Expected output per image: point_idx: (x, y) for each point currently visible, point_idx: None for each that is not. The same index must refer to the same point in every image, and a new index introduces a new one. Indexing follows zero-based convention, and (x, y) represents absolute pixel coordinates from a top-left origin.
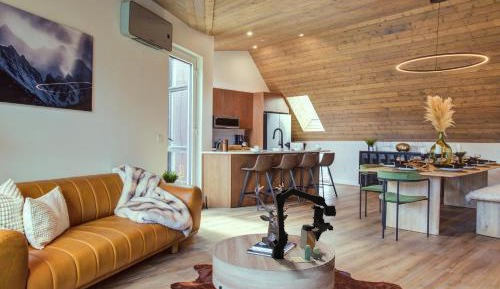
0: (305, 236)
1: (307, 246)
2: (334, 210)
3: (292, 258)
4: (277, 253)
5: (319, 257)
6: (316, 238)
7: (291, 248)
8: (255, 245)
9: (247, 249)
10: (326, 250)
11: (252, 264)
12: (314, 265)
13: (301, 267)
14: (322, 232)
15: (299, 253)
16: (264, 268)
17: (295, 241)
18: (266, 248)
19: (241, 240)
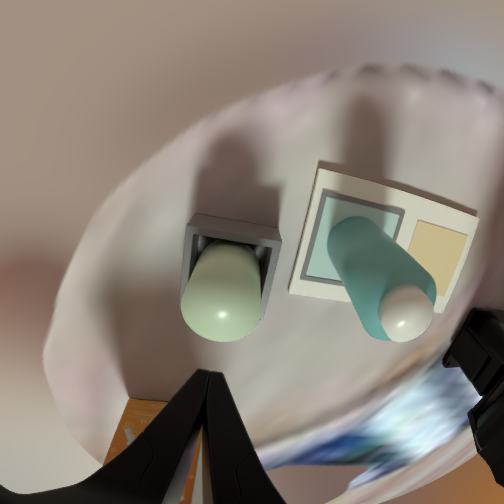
0: (199, 491)
1: (429, 301)
2: None
3: (445, 290)
4: None
5: (221, 221)
6: (240, 417)
7: (283, 437)
8: (405, 463)
9: (466, 428)
10: (66, 346)
11: None
12: (391, 93)
13: (492, 123)
14: (57, 500)
15: (303, 372)
16: None
17: None
18: (403, 442)
19: (397, 488)
